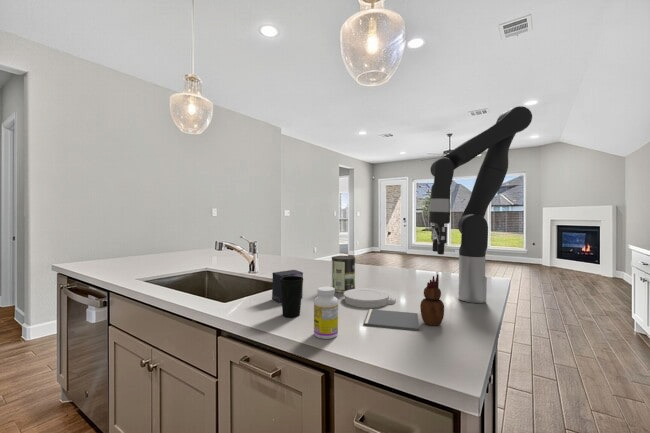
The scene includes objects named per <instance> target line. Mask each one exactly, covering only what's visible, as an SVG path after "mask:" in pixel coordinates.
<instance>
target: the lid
mask: <svg viewBox="0 0 650 433" xmlns="http://www.w3.org/2000/svg"><path fill="white" fill-rule="evenodd" d="M343 298H344V302H345V304H348V305H350V306H353V307H359V308H365V309H366V308H367V309H373V308H374V309H375V308H380V307H381V308H382V307H383V306H387V305H395V304H396V303H397V299H396V297H395V296H393V295H390V294H389V293H388V292H386V291H383V290H381V289H374V288H367V287H366V288H363V287H362V288H360V287H359V288H355V289H351V290H347V291H345V292H344V293H343Z"/></svg>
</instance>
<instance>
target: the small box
mask: <svg viewBox="0 0 650 433" xmlns="http://www.w3.org/2000/svg"><path fill="white" fill-rule="evenodd" d="M285 276H299V277H302V278H303V279H304V272H303V271H300V270H297V269H289V270H282V271H274V272H272V285H271V286H272V288H271V291H272V292H271V299H272V300H273V301H275V302H277V303H281V304H282V300H281V289H280V278H281V277H285ZM303 288H304V287H302V296H303V295H304V294H303Z"/></svg>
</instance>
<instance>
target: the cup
mask: <svg viewBox="0 0 650 433" xmlns="http://www.w3.org/2000/svg"><path fill="white" fill-rule="evenodd" d="M303 284H304V277H303V278H302V277H299V276H285V277H281V278H280V289H281V300H282V303H281V308H282V310H281V311H282V316H283V317H284V318H291V319H292V318H293V319H294V318H298V317H299V316H300V315H301V308H302V307H301V306H302V299H303V295H302V287H303V286H304V285H303ZM303 288H304V287H303Z"/></svg>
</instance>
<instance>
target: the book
mask: <svg viewBox="0 0 650 433" xmlns="http://www.w3.org/2000/svg"><path fill="white" fill-rule="evenodd" d="M362 324H363V326H367V327H376V328H377V327H378V328H386V327H387V328H388V329H399V330H409V331H418V332H419V331H420V322H419V316H418V313H417V312H408V311H398V310H397V311H396V310H384V309H375V308H374V309H373V308H368V310H367V312H366V315H365V318H364V321H363V323H362Z"/></svg>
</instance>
